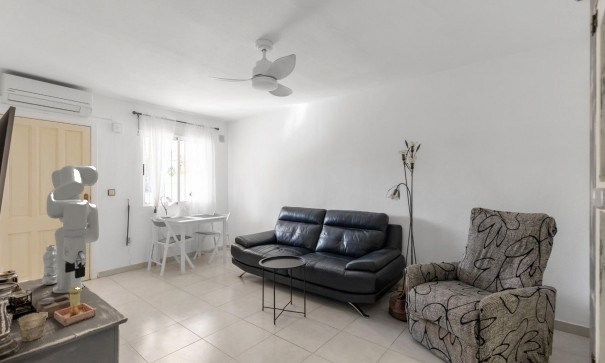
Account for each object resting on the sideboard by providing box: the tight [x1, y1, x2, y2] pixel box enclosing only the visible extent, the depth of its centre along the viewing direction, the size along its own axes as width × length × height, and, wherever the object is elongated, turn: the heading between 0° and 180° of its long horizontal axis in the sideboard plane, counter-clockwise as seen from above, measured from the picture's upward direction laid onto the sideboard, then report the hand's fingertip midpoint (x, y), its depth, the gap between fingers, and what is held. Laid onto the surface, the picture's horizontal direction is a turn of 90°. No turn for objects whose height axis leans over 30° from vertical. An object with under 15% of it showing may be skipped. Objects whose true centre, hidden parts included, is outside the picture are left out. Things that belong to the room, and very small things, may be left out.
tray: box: [53, 302, 96, 327], centre depth 113 cm, size 11×10×2 cm
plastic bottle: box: [42, 244, 57, 286], centre depth 147 cm, size 6×7×20 cm
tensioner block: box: [36, 293, 70, 319], centre depth 118 cm, size 10×10×6 cm
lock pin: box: [67, 286, 83, 317], centre depth 113 cm, size 4×4×11 cm
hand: (74, 274), depth 114 cm, fingers open, 9 cm apart
